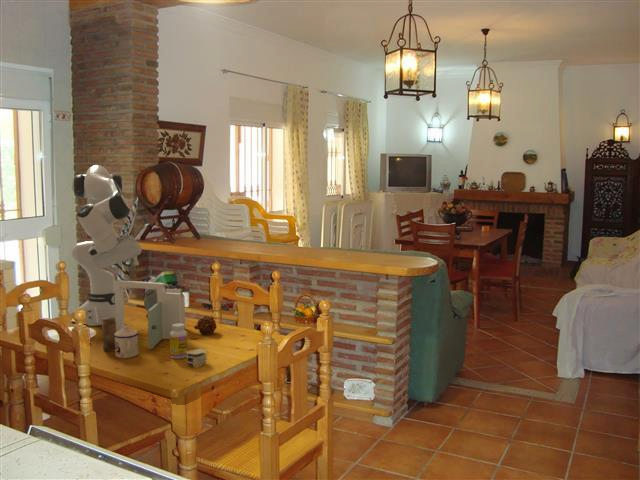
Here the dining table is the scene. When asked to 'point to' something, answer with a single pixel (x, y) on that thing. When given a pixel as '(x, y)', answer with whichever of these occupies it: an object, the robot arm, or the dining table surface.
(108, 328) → the post
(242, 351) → the dining table surface
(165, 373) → the dining table surface
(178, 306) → the door frame
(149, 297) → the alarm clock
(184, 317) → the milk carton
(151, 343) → the door
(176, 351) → the supplement bottle
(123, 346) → the teacup with lid
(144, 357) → the dining table surface
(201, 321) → the pine cone
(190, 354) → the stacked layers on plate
